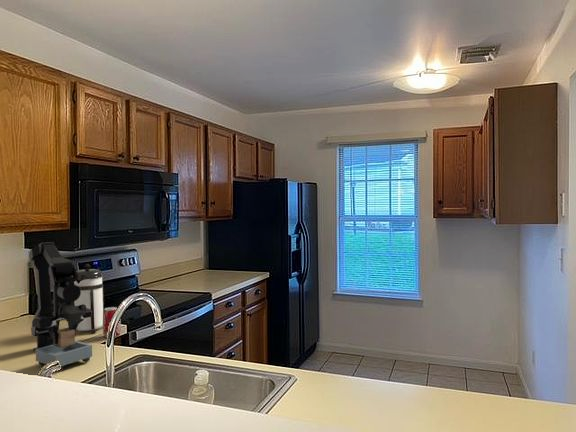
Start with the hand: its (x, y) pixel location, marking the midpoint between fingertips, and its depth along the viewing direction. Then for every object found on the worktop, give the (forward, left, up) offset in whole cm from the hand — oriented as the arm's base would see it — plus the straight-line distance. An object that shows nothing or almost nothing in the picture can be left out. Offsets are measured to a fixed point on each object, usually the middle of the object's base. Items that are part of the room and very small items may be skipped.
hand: (64, 341), depth 156 cm
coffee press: (-33, +30, -8) cm, 46 cm away
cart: (0, 0, -8) cm, 8 cm away
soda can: (-15, +29, -8) cm, 34 cm away
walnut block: (0, 0, -1) cm, 1 cm away
